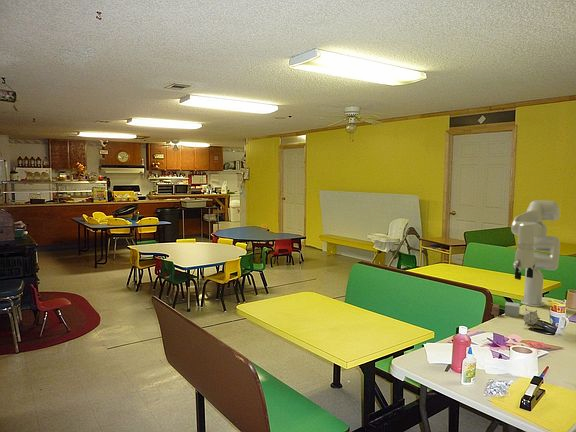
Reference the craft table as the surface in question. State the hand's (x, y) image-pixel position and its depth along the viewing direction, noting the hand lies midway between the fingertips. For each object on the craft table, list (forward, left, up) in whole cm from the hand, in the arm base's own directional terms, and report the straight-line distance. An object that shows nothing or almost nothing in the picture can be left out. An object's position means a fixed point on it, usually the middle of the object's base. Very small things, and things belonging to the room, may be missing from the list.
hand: (523, 278), depth 225 cm
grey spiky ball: (+6, +4, -23) cm, 24 cm away
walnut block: (-4, -14, -23) cm, 27 cm away
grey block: (-8, -5, -23) cm, 25 cm away
